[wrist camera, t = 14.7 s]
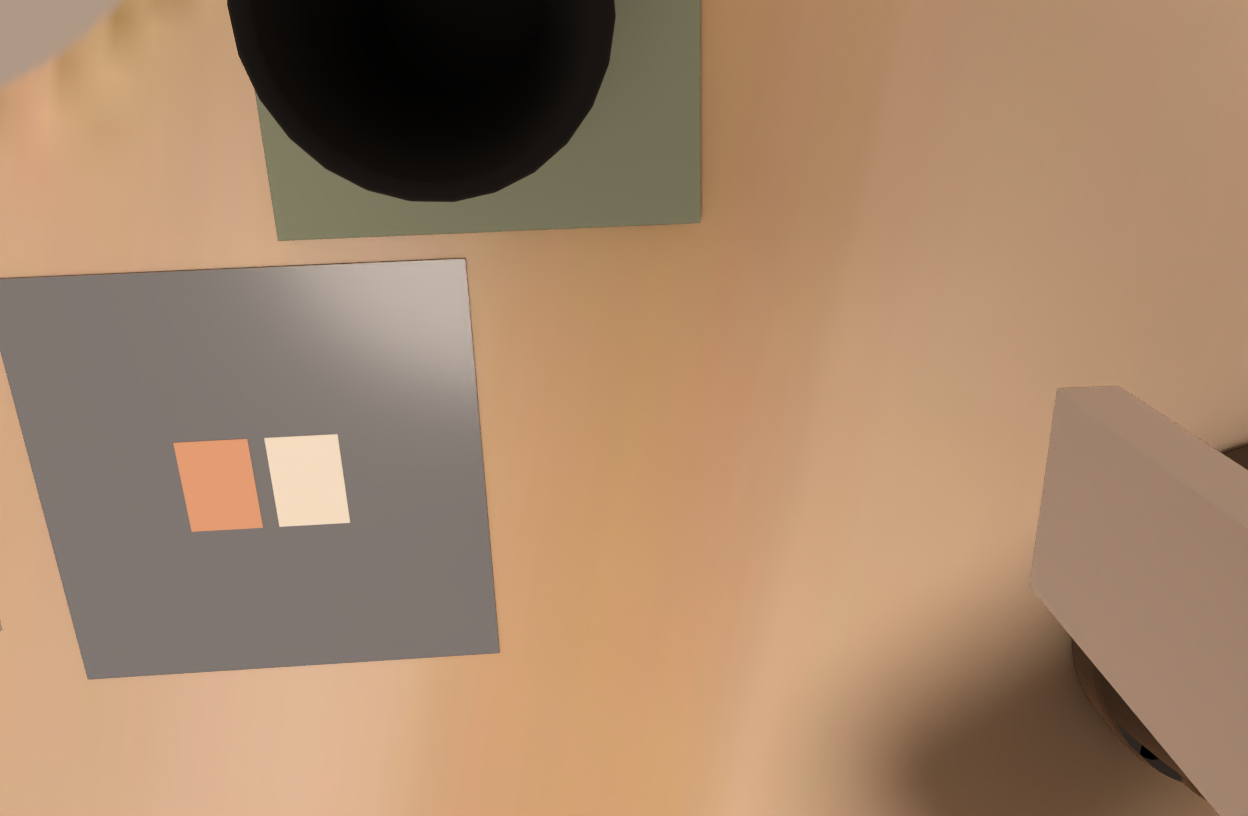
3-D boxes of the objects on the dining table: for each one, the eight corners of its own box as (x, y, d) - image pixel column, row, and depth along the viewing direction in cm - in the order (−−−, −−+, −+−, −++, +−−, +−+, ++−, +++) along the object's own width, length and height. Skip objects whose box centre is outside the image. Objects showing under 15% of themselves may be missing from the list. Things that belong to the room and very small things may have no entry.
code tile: (467, 252, 36) (465, 259, 35) (500, 638, 42) (499, 653, 41) (-4, 272, 35) (-19, 280, 34) (98, 664, 41) (87, 680, 40)
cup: (642, 1, 32) (693, 2, 21) (482, 184, 34) (450, 275, 22) (449, -195, 30) (390, -313, 18) (287, 12, 31) (146, 19, 20)
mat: (697, -260, 30) (700, -264, 29) (697, 219, 35) (700, 222, 35) (207, -251, 29) (201, -256, 29) (282, 236, 34) (278, 240, 34)
